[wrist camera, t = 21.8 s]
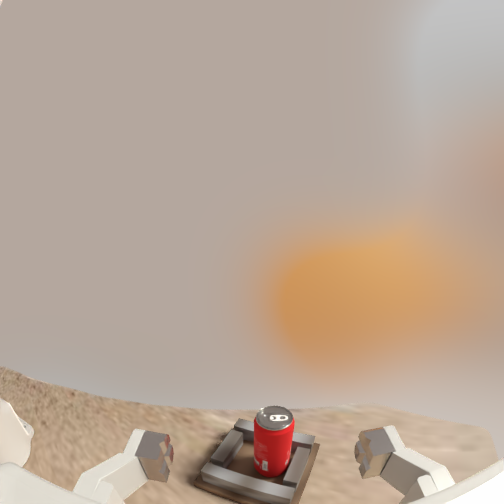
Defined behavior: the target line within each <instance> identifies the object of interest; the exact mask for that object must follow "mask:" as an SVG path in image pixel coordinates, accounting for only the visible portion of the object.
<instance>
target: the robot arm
mask: <svg viewBox="0 0 504 504" xmlns="http://www.w3.org/2000/svg"><path fill="white" fill-rule="evenodd" d="M2 1H3V0H0V6H1V4H2ZM33 435H34V429H33V428H32V427H31V426H30V425H29V424H28V423H26V422H25V421H24V420H22V419H21V418H20V417H18V416H17V415H16V413H15V412H14V410H13V408H12V406H11V405H10V403H7V402H6V401H5V400H4V399H2V398H0V504H125V502H124V501H123V500H124V499H126V498H127V497H128V496H130V495H131V494H132V493H133V492H135V491H136V490H137V489H138V488H140V487H141V486H142V485H143V484H144V483H146V482H147V481H148V479H149V480H154V481H160V482H167V479H168V476H169V472H170V471H169V468H168V466H170V465H171V464H172V461H173V454H174V453H173V447H172V445H171V444H169V442H170V437H169V435H168V434H162V433H156V432H151V431H145V430H140V429H135V430H134V431H133V432H132V434H131V436H130V439H129V441H128V443H127V445H126V447H125V449H124V451H123V453H118V454H117V455H115V456H113V457H111V458H110V459H108V460H106V461H104V462H102V463H101V464H99V465H97V466H95V467H93V468H91V469H89V470H88V471H86V472H84V473H82V475H81V476H80V478H79V480H78V482H77V484H76V486H75V488H74V490H73V491H72V492H71V491H68V490H66V489H64V488H62V487H59V486H57V485H55V484H53V483H51V482H49V481H47V480H45V479H43V478H41V477H39V476H37V475H35V474H33V473H31V472H29V471H28V470H26V469H24V468H22V466H23V465H24V464H25V463H26V461H27V459H28V457H29V454H30V448H31V447H30V442H31V439H32V437H33ZM355 458H356V461H357V462H358V463H360V464H361V465H360V467H359V470H360V473H361V476H362V479H365V478H370V477H375V476H379V475H380V477H382V478H383V479H384V480H385V481H387V482H388V483H389V484H390V485H392V486H393V487H394V488H396V489H397V490H398V491H400V492H401V493H402V494H404V495H405V497H404V498H403V499H402V500H401V502H400V503H399V504H504V458H502V459H501V460H499V461H497V462H496V463H494V464H492V465H491V466H489V467H487V468H485V469H484V470H482V471H480V472H478V473H476V474H474V475H473V476H471V477H469V478H467V479H465V480H463V481H461V482H459V483H457V484H455V482H454V481H453V479H452V477H451V475H450V474H449V472H448V470H447V468H446V467H445V466H443V465H441V464H439V463H437V462H435V461H433V460H431V459H429V458H427V457H425V456H423V455H421V454H419V453H417V452H416V451H414V450H412V449H410V448H405V446H404V444H403V442H402V440H401V438H400V436H399V434H398V433H397V431H396V429H395V427H394V426H393V425H391V426H386V427H382V428H376V429H371V430H366V431H361V432H360V434H359V441H358V442H357V443H356V445H355Z"/></svg>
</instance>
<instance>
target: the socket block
mask: <svg viewBox="0 0 504 504" xmlns="http://www.w3.org/2000/svg"><path fill="white" fill-rule="evenodd" d="M314 439H315V436H312V435H306V434H301V433H296V432H293V438H292V445H291V452H290V459H289V465H288V468H287V470H286V471H285V472H283V474H281V475H280V476H278V477H273V478H268V477H264V476H262V475H261V474H259V473H258V471H257V470H256V469H255V467H254V422H250V421H247V420H243V419H240V418H239V419H238V421H237V422H236V424H235V425H234V429H233V430H232V429H231V431H230V432H229V433H228V435H227V436H226V438H225V439H224V440H223V442H222V443H221V444H220V446H219V447H218V448H217V450H216V451H215V452H214V454H213V455H212V456H211V461H210V462H207V463H206V464H205V466H204V467H203V468H202V469H201V474H200V475H199V476H198V478H197V479H196V480H195V481H194V485H195V486H197V487H199V488H202V489H204V490H207V491H209V492H212V493H214V494H217V495H219V496H222V497H225V498H228V499H230V500H233V501H236V502H239V503H242V504H298V503H299V501H300V498H301V496H302V493H303V491H304V488H305V485H306V483H307V480H308V478H309V475H310V472H311V469H312V467H313V464H314V461H315V458H316V455H317V452H318V449H319V446H320V444H317V443H314Z"/></svg>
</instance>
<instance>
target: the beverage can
mask: <svg viewBox="0 0 504 504" xmlns="http://www.w3.org/2000/svg"><path fill="white" fill-rule="evenodd" d="M293 431H294V418H293V415H292V413H291V412H290V411H289V410H288V409H286V408H284V407H280V406H269V407H265V408H263V409H261V410H260V411H259V412H258V413H257V415H256V417H255V419H254V467H255V469H256V470H257V471H258V473H259V474H261V475H262V476H264V477H268V478H273V477H278V476H280V475H281V474H283V472H285V471H286V470H287V468H288V465H289V459H290V452H291V445H292V438H293Z"/></svg>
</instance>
